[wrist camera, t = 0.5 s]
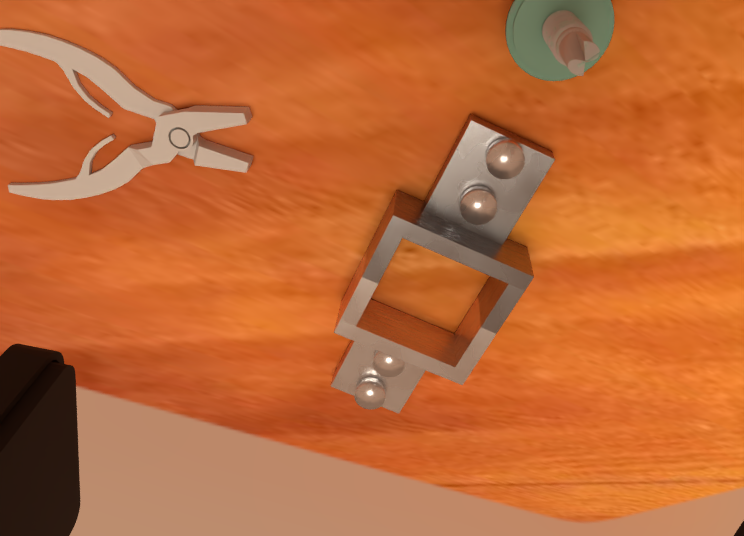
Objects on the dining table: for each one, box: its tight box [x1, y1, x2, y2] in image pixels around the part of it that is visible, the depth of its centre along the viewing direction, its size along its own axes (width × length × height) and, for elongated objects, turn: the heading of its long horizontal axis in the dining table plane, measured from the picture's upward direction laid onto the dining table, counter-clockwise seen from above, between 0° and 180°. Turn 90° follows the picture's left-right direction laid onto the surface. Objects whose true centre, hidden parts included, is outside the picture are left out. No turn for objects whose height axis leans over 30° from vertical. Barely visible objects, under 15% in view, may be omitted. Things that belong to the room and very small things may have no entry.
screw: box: [506, 0, 614, 81], centre depth 31 cm, size 9×5×5 cm
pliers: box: [0, 29, 253, 200], centre depth 39 cm, size 10×2×15 cm
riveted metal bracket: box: [331, 114, 555, 413], centre depth 41 cm, size 20×8×4 cm, turn 157°
